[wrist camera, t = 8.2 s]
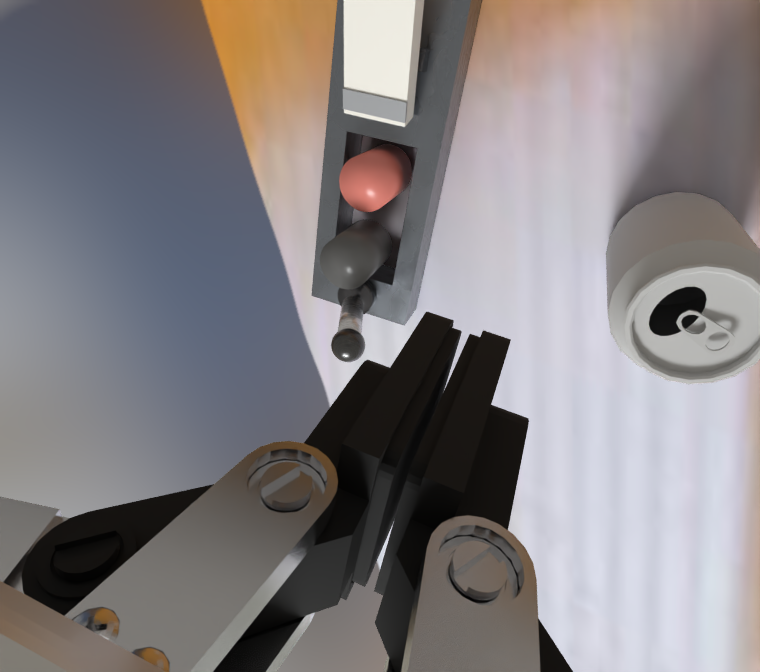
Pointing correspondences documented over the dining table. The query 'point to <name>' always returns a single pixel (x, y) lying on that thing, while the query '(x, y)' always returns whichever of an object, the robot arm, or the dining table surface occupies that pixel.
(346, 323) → the toggle
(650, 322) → the can
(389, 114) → the block
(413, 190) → the panel
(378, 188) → the button
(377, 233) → the button
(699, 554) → the dining table surface
